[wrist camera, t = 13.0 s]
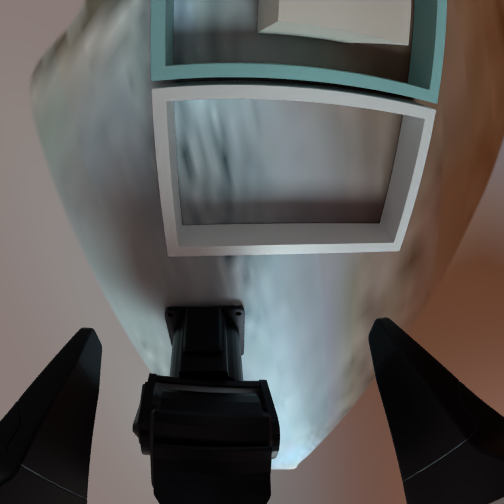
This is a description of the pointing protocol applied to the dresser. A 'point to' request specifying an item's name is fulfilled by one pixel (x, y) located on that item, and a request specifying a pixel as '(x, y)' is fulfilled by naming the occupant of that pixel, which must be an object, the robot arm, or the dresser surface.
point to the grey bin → (290, 234)
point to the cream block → (338, 20)
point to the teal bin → (419, 81)
